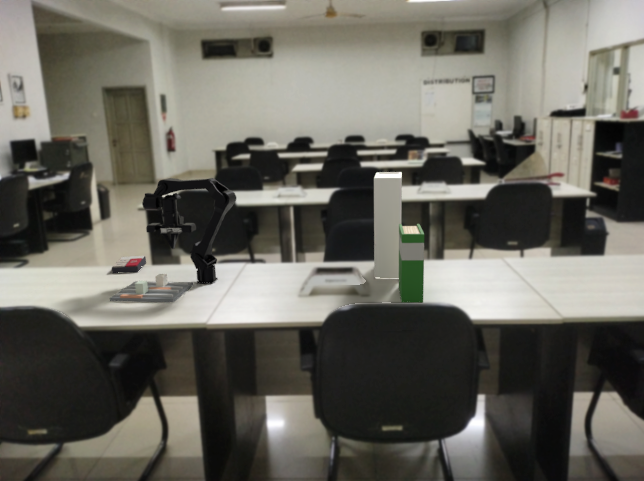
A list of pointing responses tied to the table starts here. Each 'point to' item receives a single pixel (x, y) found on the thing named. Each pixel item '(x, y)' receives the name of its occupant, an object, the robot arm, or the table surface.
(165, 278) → the cream slider
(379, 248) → the storage box
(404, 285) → the hardback book
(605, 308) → the table surface
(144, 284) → the sage slider
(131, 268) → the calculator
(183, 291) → the grey slider track board
